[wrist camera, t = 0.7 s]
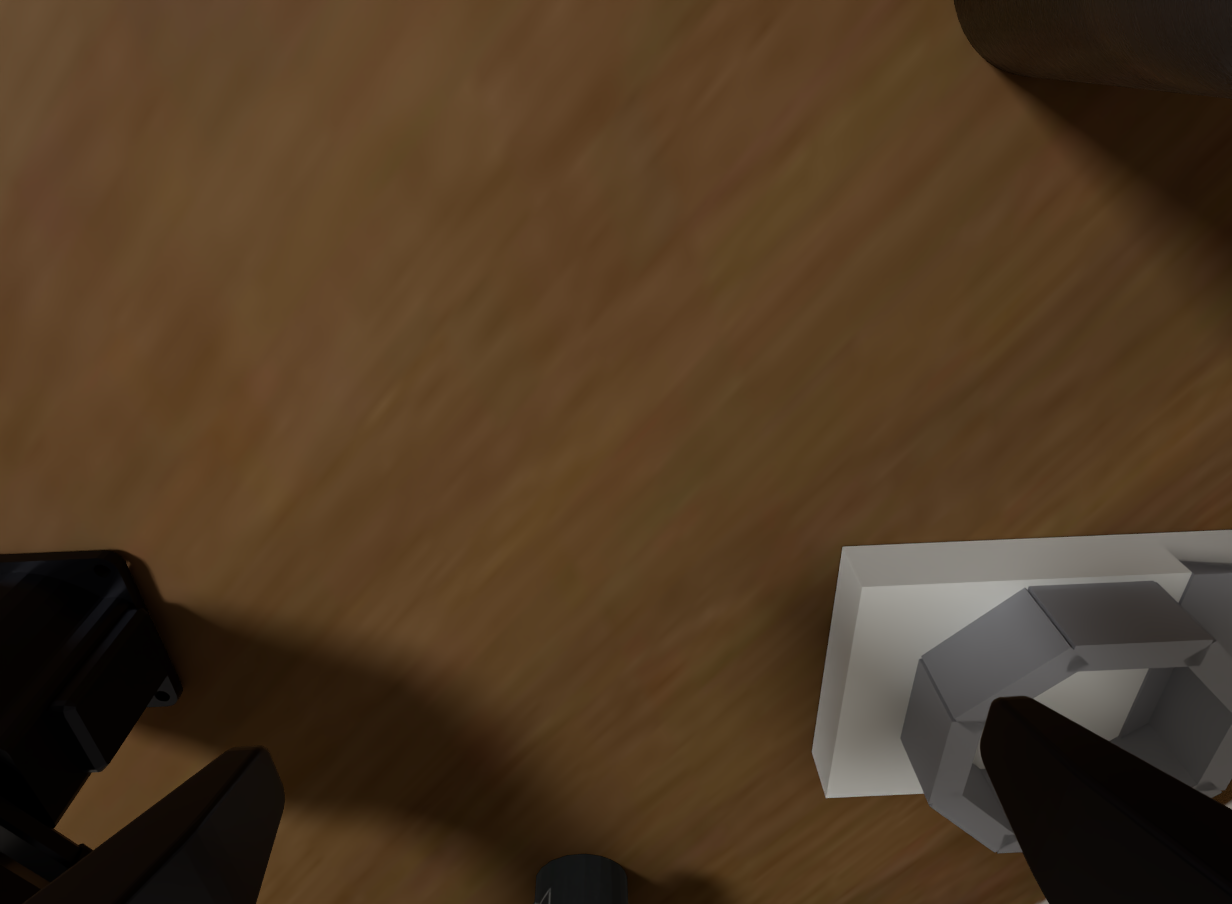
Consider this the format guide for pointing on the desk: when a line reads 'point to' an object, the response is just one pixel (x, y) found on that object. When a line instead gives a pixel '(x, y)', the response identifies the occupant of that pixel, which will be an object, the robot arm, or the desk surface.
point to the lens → (1108, 41)
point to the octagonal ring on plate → (1024, 661)
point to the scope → (581, 881)
